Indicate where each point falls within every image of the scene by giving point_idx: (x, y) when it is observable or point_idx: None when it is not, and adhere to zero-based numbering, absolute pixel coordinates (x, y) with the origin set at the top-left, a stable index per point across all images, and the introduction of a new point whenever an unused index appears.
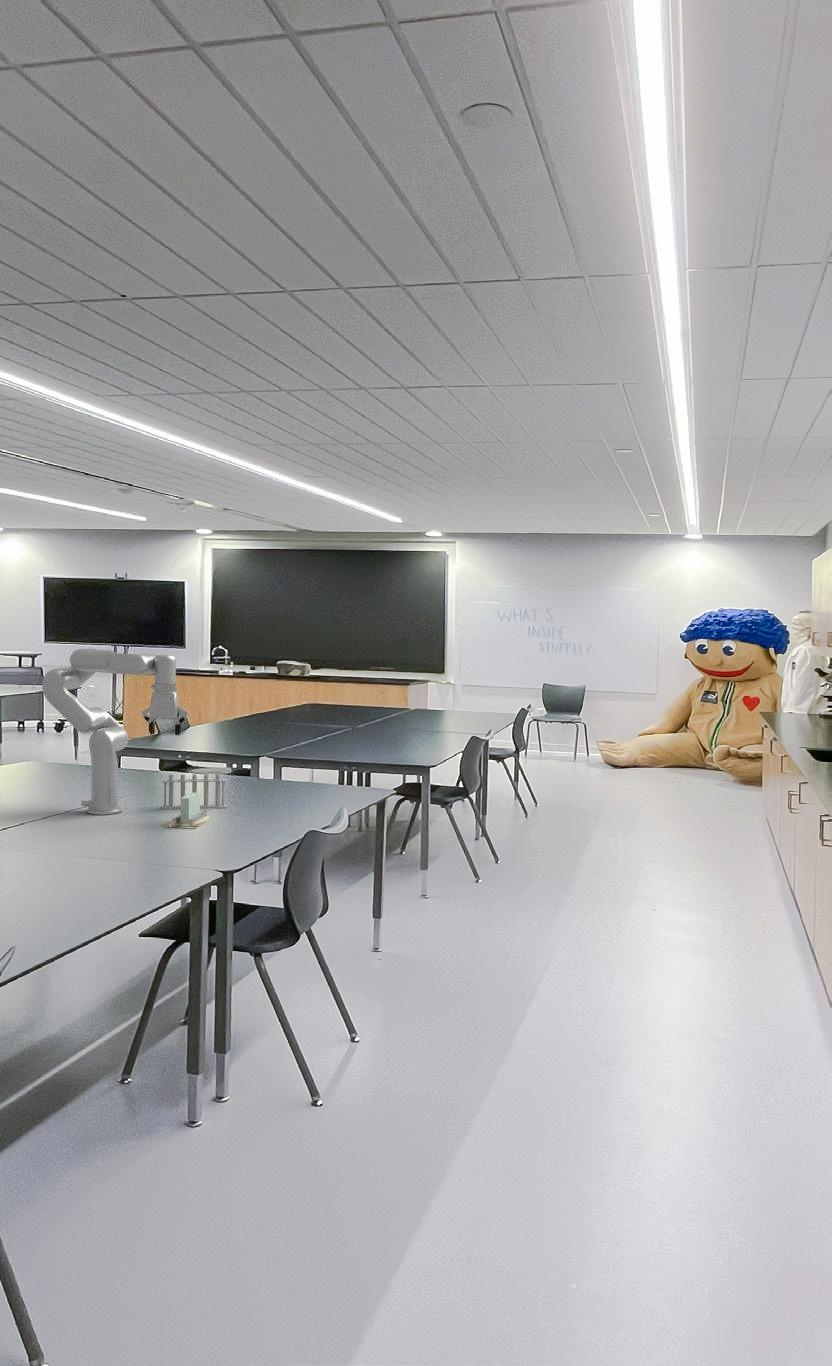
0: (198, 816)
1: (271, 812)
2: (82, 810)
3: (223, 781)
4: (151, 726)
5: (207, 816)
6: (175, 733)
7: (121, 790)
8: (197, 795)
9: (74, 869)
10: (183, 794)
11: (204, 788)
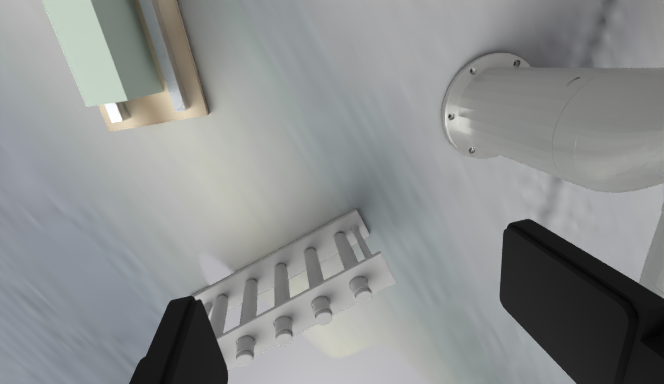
0: None
1: (16, 300)
2: None
3: None
4: (596, 283)
5: (120, 124)
6: (188, 308)
7: (546, 359)
8: (73, 68)
9: None
10: (309, 269)
11: (250, 314)
